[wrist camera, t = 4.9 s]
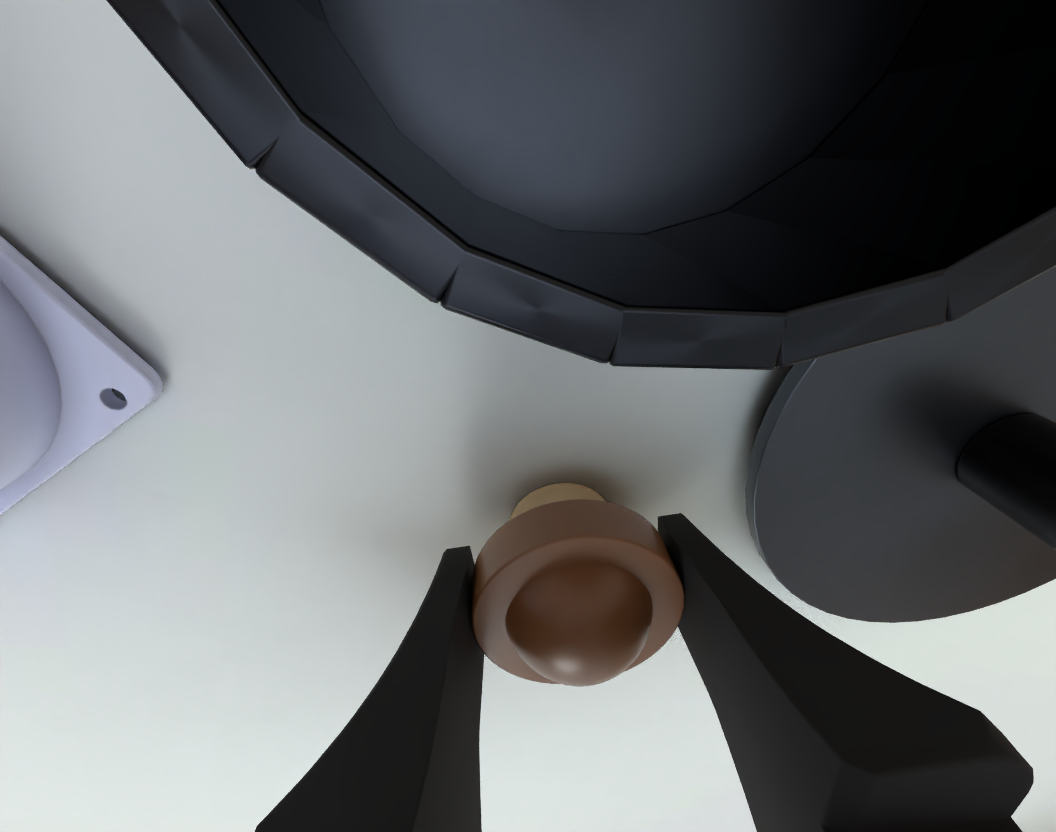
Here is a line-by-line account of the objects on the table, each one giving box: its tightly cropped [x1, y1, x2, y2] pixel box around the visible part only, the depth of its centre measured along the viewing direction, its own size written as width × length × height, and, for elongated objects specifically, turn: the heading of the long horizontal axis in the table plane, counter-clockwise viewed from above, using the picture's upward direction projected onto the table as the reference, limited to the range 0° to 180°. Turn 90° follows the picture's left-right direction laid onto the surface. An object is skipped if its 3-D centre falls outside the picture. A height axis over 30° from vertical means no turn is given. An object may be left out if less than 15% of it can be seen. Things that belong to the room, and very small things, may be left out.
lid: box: [746, 267, 1056, 623], centre depth 12 cm, size 13×13×4 cm
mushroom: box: [471, 483, 685, 686], centre depth 12 cm, size 5×5×5 cm
